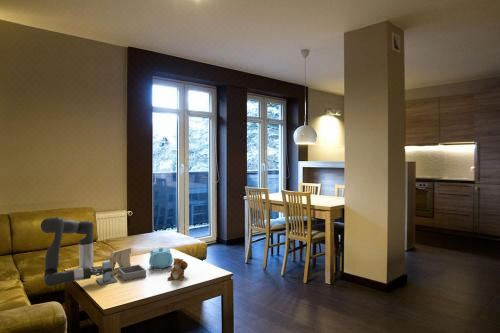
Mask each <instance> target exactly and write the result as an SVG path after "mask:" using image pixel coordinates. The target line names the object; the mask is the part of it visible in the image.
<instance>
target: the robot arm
mask: <svg viewBox="0 0 500 333" xmlns="http://www.w3.org/2000/svg"><path fill="white" fill-rule="evenodd" d="M94 227H95V226H94V223H93V221H92V220H87V221H85V220H81V221H76V220H75V219H63V218H62V217H60V216H59V217H47V218H44V219H43V220H42V221H41V223H40V229H41V231H42V232H43V233H45V234H54V238H53V240H52V243H51V244H50V245H49V247H48V249H47V250H46V253H45V257H44V259H45V260H44V272H43V273H44V275H43V283H44V284H45V285H46V286H48V287H52V286H53V287H54V286H57V285H61V284H65V283H72V282H79V281H85V280H89V279H91V278H92V276H96V277H99V276H101V275H102V276H103V274H105V273H106V272H111V271H112V268H106V269H102V265H98V266H94ZM63 234H68V235H69V234H70V235H71V234H77V235H85V237H83V238H80V239H79V240H78V261H79V262H78V263H79V267H77V268H74V269H68V270H63V271H62V272H61V271H60V272H59V271H58V268H59V262H60V261H59V260H60V249H61V245H62V240H63ZM102 271H103V272H102Z"/></svg>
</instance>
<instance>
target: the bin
mask: <svg viewBox="0 0 500 333" xmlns="http://www.w3.org/2000/svg"><path fill="white" fill-rule="evenodd" d="M117 268H118V267H117ZM117 275H118V276H119V277H120V279H122V281H123V282H128V281H131V280H132V281H133V280H139V279H142V278H146V277H147V269H146V268H144V267H143V266H141V265H140V264H135V265H130V266H128V267H123V268H118V271H117Z"/></svg>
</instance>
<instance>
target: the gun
mask: <svg viewBox="0 0 500 333" xmlns="http://www.w3.org/2000/svg"><path fill="white" fill-rule="evenodd" d="M131 253H132V247H125V248H122V249H118V250H114V251H111V252H110V255H109V257H108V260H109V261H110V268H112V271H111V276H112V275H113V276H114V275H115V274H116V273H118V268H123V267H128V266H132V264H131V255H130V254H131ZM116 263H117V265H118V267H116Z"/></svg>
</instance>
